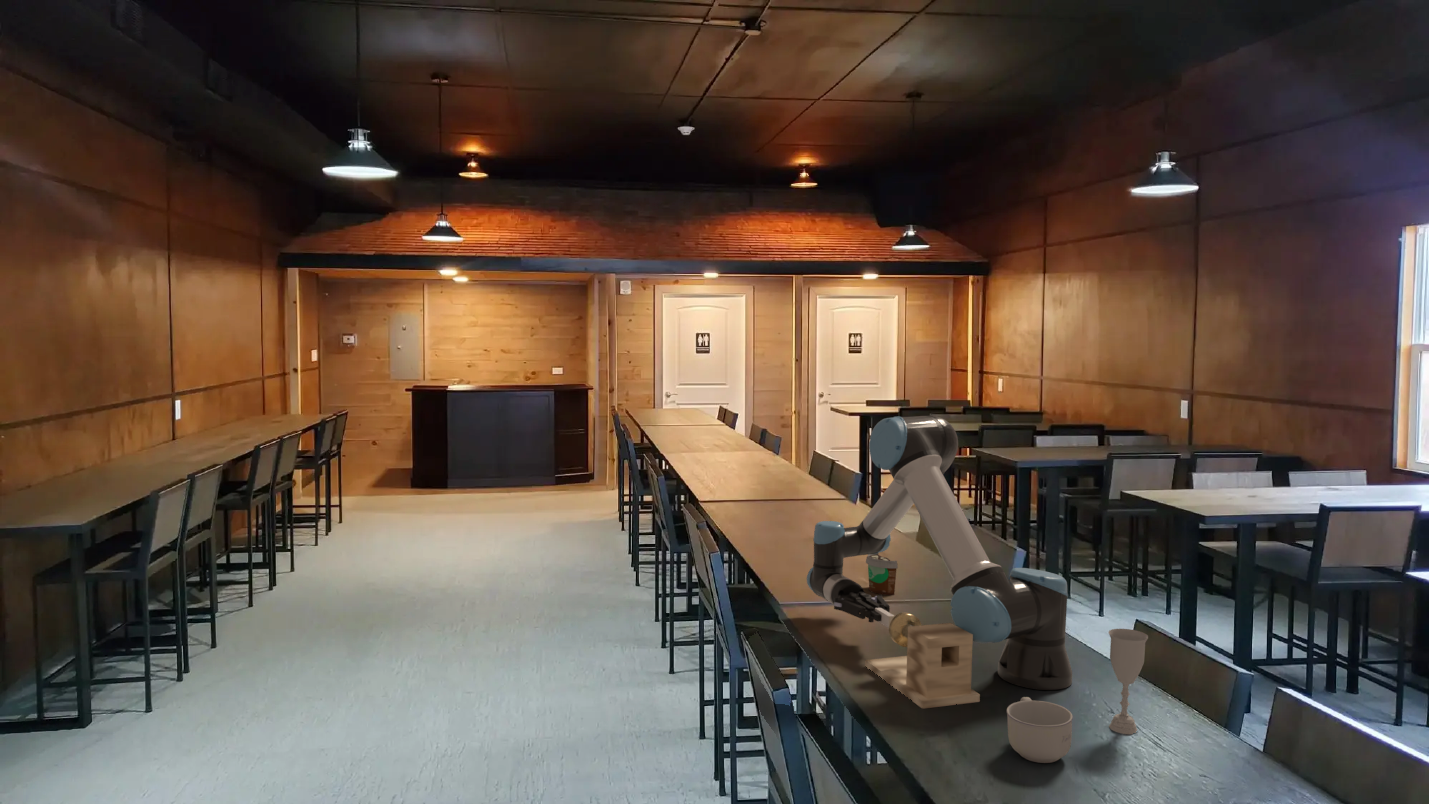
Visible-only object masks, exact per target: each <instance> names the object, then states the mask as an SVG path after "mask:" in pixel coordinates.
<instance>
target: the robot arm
mask: <svg viewBox="0 0 1429 804" xmlns="http://www.w3.org/2000/svg"><path fill="white" fill-rule="evenodd" d="M870 433H871V434H870V436H869V443H868V450H869V455H870V459H871V460H872V463H873V464H874V466H875V467H877V468H879V469H881V470H883V471H889V472H890V473H889V474H891V476H892V479H893V480H892V481H891V483H889V485H888V486H887V488H886V489H885V491H884V492H883V493H882V494H881V496H880V497H879V498H878V500H877V502H876V503H875V504H874V505H873V506H872V508H871V509H870V511H869V512H868V513H867V515H866V516H865V517H864V518H863V520H862V521H861V522H860V523H859V525H857V526H850V527H845V525H844V524H843V522H839V521H834V520H833V521H832V520H823V521H822V520H821V521H819V522H817V523H815V526H814V530H813V531H814V532H813V538H812V539H813V565H812V567H811V568H810V569H809V570H808V573H807V575H806V584H807V586H808V588H809V589H810V590H811V591H812V592H813V594H815V595H816V596H818V597H820V598H823V599H824V600H825V601H827V602H828V603H830V604H832V605H833V609H834V610H836V611H841V612H844V613H846V614H848V615H851V616H853V617H856V618H859V619H861V620H865V619H866V618H867V619H868V622H869V623H874V621H875V622H877V623H879V624H881V625H882V626H884V627H886V628H887V629H889V625H890V622H891V620H892V619H893V618H894V617H895V616H896V615H895V614H893V613H891V612H890V609H891V606H890V604H889V603H888V602H887V601H886V600H885V599H884V598H883V596H884V595H883V594H878V595H874V597H872V595H871V594H870V593H866V592H865V591H864V588H863V587H862V585H860V584H859V583H857V582H856V581H854V580H853V579H850V578H849V577H846V576H845V575H843V569H844V568H843V567H844V559H845V558H846V559H847V558H851V557H859V556H865V555H867V556H868V554H877V553H883V552H885V551H887V550H888V549H889V547H890V542H891V539H892V538H891V533H892V532H893V531H894V529H895V528H896V527H897V526H898V525H899V523H900V522H901V521H902V520H903V518H904V517H905V515H906V514H907V513H908V512H909V511H910V509H911V508H912V507H913V505H914V506H915V508H916V510H917V512H918V515H919V516H920V518H921V520H922V522H923V524H924V526H925V528H926V530H927V531H928V534H929V536H930V537H931V539H932V541H933V543H934V545H935V548H936V549H937V551H938V553H939V555H940V557H941V558H942V561H943V563H944V565H945V566H946V569H947V570H948V572H949V574H950V576H951V578H952V583H951V585H950V592H951V594H952V597H951V600H950V607H951V609H950V615H951V618H952V621H953V624H954V625H956V626H958V627H960V628H961V629H963V630H965V631H967V632H969V633H971V634H973V642H975V643H978V644H990V643H992V644H993V643H994V644H995V643H1001V642H1002V641H1004V640H1006V642H1005V644H1004V647H1003V649H1002V652H1001V654H1000V657H999V660H998V663H997V675H998V677H1000V678H1001V679H1002V680H1003V681H1005V682H1007V683H1009V684H1013V685H1015V686H1019V687H1022V688H1026V689H1033V690H1043V691H1055V690H1063V689H1067V688H1068V687H1070V686H1071V685H1072V684H1073V670H1072V667H1071V663H1070V660H1069V659H1070V658H1069V655H1068V653H1067V648H1066V630H1067V629H1066V626H1067V612H1068V611H1067V607H1068V605H1067V604H1068V597H1069V594H1068V582H1067V580H1066V579H1065V577H1063V576H1062V575H1059V574H1056V573H1053V572H1049V571H1045V570H1039V569H1036V568H1035V569H1034V568H1027V567H1015V568H1014V567H1013V568H1011V570H1010V572H1009V573H1010V574H1009V578H1008V576H1007V575H1006V573H1005V571H1004V569H1003V566H1001V565H1000V564H996V563H994V562H992V561H991V560H990V559H989V557H988V555H987V553H986V551H985V549H984V547H983V546H982V544H981V542H980V541H979V539H978V537H977V535H976V533H975V531H974V529H973V527H972V526H971V524H970V522H969V520H968V518H967V517H966V515H965V513H964V511H963V509H962V508H961V506H960V505H961V504H959V502H958V500H957V498H956V497H955V494H954V492H953V491H952V489H951V487H950V485H949V484H948V482H947V480H946V478H945V476H944V474H945V472H946V471H947V470H948V469H949V468H950V467H951V465H952V464H953V462H954V460H955V458H956V456H957V454H958V449H959V440H958V439H959V438H958V435H957V432H956V430H955V428H954V427H953V425H952V424H951V423H950V422H949V421H948V420H946V419H945V418H942V417H940V416H937V415H920V416H916V415H915V416H900V415H899V416H897V415H896V416H893V417H886V418H883V419H881V420H880V421H878V422H877V423H876V425H874V427H873V429H872V431H871V432H870Z"/></svg>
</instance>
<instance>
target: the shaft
mask: <svg viewBox="0 0 1429 804" xmlns="http://www.w3.org/2000/svg"><path fill="white" fill-rule="evenodd" d="M894 616H895V617H894V618H893V619H892V620H891V622H890V625H889V628H888V634H889V637H890V639H891V640H892V641H893V642H894V643H895V644H897V645H898V646H900V647H902V648H907V644H908V627H909V626H920V625H922V622H921V620H920V619H919V618H918V617H917V616H915V615H914V614H913V613H912V614H911V613H910V612H905V611H903V612H900V613H897V614H896V615H894Z"/></svg>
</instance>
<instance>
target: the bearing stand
mask: <svg viewBox="0 0 1429 804" xmlns="http://www.w3.org/2000/svg"><path fill="white" fill-rule="evenodd" d="M973 642H974V641H973V634H971V633H969V632H967V631H965V630H963V629H961V628H960V627H958V626H956V625H955V623H952V622H943V623H933V624H921V625H920V626H909V627H908V644H907V647H906V648H907V650H906V655H901V656H892V657H883V658H882V657H881V658H873V659H865V662H864V664H865V665H864V667H865V666H866V667H867V668H866V667H865V668H866V669H868V670H869V669H870V670H871V671H870V670H869V671H870V672H872V671H873V672H874V673H875V674H874V673H873V672H872V673H873V674H874V675H876V674H877V675H878V677H879V676H880V677H881V678H882V679H881V678H880V677H879V678H880V679H881V680H883V679H884V680H885V681H886V682H885V681H884V680H883V681H884V682H885V683H887V684H888V685H889V684H890V685H889V686H891V687H892V686H893V687H892V688H893V689H894V690H896V689H897V691H898V692H899V691H900V692H901V694H902V695H903V694H904V695H905V696H904V695H903V696H904V697H906V698H907V697H908V698H907V699H908V700H910V699H911V700H912V703H914V704H916V705H917V706H918V707H919V708H921V709H930V708H932V709H933V708H938V707H946V706H947V707H948V706H955V705H956V704H957V705H963V704H972V703H979V702H980V701H981V700H980V699H981V698H980V697H981V694H980V693H978V692H977V691H975V690H974V689H972V688H971V687H972V671H973V670H972V669H973V668H972V667H973V665H972V664H973V663H972V662H973ZM877 675H876V676H877ZM900 692H899V693H900ZM911 700H910V701H911Z"/></svg>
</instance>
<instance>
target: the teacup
mask: <svg viewBox="0 0 1429 804" xmlns="http://www.w3.org/2000/svg"><path fill="white" fill-rule="evenodd" d="M1006 715H1007V717H1006V718H1007V736H1008V741H1009V744H1010V746H1011V747H1012V749H1013V750H1014V751H1015V752H1016V753H1018V754H1019V755H1020V756H1021V758H1024V759H1025V760H1028V761H1030V762H1034V763H1039V764H1051V763H1054V762H1057V761H1059V760H1060V759H1061V758H1063V757H1065V756H1066V755H1067V754H1068V752H1069V751H1070V749H1071V745H1072V737H1073V736H1072V735H1073V733H1072V732H1073V725H1072V724H1073V714H1072V712H1071V711H1070V710H1069V709H1067V708H1066V707H1064V706H1063V705H1060V704H1057V703H1054V702H1050V701H1043V700H1034V699H1033V700H1032V699H1031V697H1029V696H1023V697H1021V698H1020V701H1017V702H1016V701H1015V702H1013V703H1011V704H1009V705H1008V706H1007V708H1006Z"/></svg>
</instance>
